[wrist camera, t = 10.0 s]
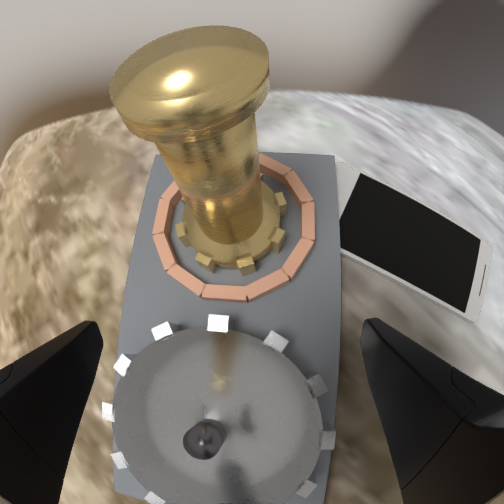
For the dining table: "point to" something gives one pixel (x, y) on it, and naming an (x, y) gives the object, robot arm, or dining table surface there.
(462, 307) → the smartphone
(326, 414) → the gear board
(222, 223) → the gold piece
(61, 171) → the dining table surface
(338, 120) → the dining table surface
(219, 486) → the gear
